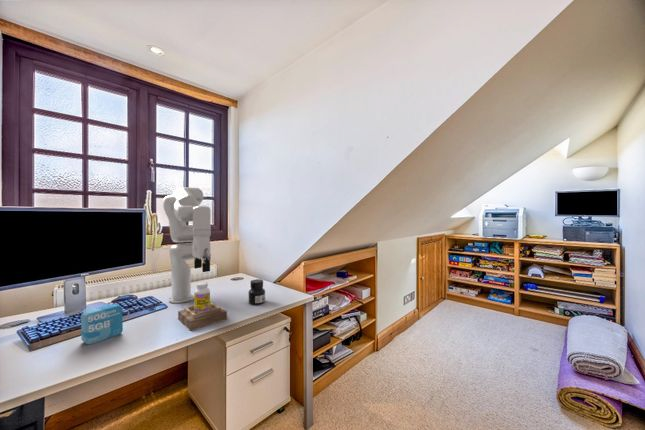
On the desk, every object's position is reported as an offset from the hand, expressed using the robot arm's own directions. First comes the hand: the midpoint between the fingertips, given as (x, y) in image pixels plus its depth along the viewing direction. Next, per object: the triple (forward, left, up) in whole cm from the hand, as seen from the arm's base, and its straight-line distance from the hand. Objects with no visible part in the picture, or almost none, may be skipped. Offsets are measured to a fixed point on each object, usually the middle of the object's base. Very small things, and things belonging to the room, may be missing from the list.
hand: (202, 269), depth 123 cm
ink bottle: (-2, +30, -24) cm, 38 cm away
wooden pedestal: (0, 0, -23) cm, 23 cm away
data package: (-10, -35, -24) cm, 43 cm away
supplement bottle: (0, 0, -20) cm, 20 cm away
